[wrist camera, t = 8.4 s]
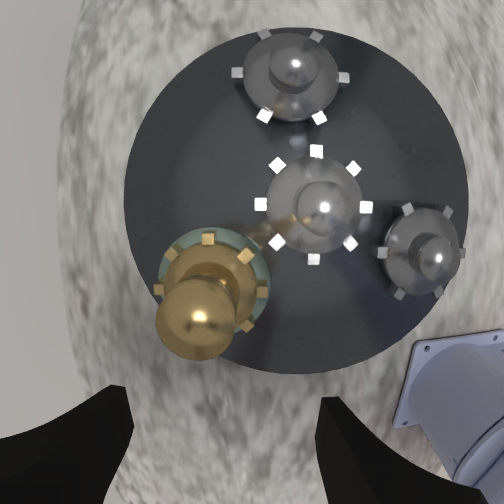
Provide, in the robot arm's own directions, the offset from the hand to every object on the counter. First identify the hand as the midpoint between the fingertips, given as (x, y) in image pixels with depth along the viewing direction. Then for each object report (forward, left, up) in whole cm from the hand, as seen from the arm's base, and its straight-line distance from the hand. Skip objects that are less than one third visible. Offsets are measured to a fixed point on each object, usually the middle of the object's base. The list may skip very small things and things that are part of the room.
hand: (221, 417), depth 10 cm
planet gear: (+1, -3, -8) cm, 9 cm away
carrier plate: (-4, -7, -9) cm, 12 cm away
